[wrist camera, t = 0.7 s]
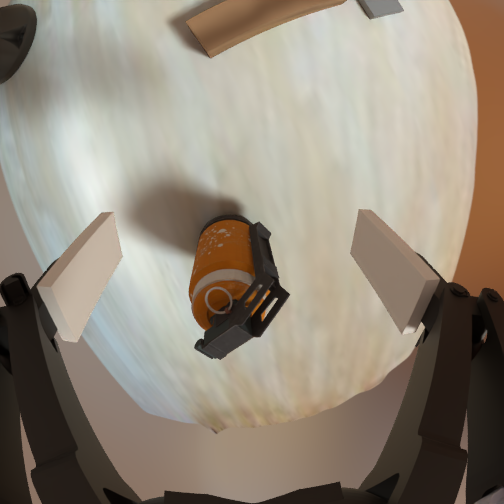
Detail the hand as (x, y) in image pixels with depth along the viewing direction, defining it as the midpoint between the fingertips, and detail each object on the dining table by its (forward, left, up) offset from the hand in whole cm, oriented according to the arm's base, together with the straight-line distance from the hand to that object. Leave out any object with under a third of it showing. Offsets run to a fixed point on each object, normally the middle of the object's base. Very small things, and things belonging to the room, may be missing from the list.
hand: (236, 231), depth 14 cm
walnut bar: (-15, +14, -24) cm, 32 cm away
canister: (+11, -6, -24) cm, 27 cm away
